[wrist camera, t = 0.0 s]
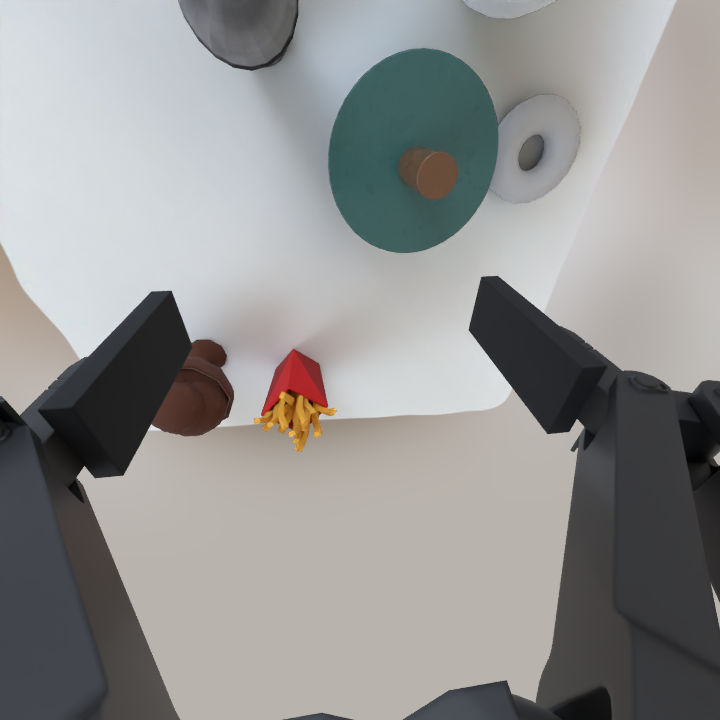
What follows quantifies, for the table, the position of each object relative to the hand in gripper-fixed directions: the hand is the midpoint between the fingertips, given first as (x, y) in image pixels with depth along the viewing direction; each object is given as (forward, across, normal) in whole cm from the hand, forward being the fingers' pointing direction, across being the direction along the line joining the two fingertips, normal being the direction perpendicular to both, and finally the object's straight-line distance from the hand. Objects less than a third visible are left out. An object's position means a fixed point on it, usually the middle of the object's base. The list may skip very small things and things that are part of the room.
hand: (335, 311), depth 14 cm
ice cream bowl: (+28, -18, -21) cm, 40 cm away
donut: (+28, +23, +4) cm, 37 cm away
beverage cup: (+28, -4, +13) cm, 31 cm away
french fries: (+28, -5, -23) cm, 37 cm away
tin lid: (+20, +8, +4) cm, 21 cm away
